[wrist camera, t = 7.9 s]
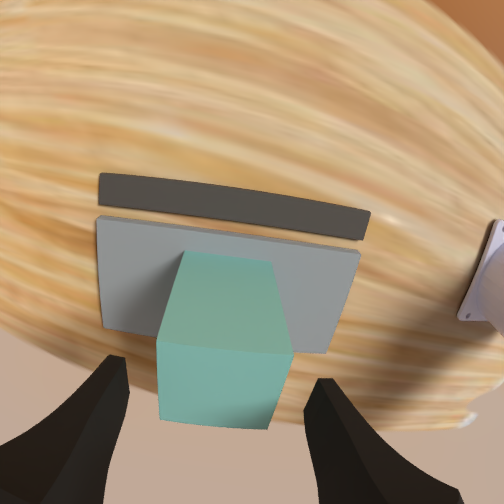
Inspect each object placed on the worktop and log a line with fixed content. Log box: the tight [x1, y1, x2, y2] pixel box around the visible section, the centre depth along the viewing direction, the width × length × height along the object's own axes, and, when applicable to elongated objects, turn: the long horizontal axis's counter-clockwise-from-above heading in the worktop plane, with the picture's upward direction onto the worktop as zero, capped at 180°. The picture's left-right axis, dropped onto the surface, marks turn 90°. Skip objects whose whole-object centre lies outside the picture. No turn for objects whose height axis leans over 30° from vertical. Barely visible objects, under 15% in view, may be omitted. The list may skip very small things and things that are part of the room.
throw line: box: [99, 173, 371, 241], centre depth 15 cm, size 14×2×1 cm, turn 80°
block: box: [156, 250, 294, 429], centre depth 14 cm, size 4×4×7 cm
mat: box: [97, 215, 361, 354], centre depth 17 cm, size 14×7×1 cm, turn 80°
